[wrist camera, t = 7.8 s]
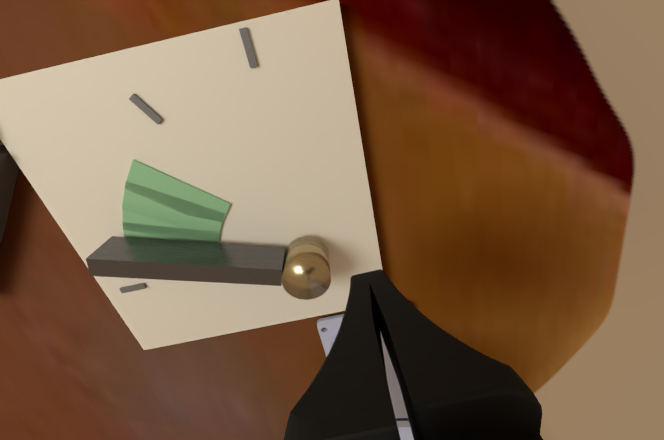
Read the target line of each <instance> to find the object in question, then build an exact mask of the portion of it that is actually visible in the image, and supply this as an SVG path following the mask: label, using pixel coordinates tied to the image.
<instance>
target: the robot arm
mask: <svg viewBox="0 0 664 440" xmlns="http://www.w3.org/2000/svg"><path fill="white" fill-rule="evenodd" d="M317 328H318V331H319V334H320V338H321V341H322V344H323V347H324V350H325V354H326V357H327V358H326V360H325V361H324V363H323V365H322V367H321V369H320V370H319V372H318V373H317V375H316V377H315V378H314V380H313V381H312V383H311V385H310V386H309V388H308V389H307V391H306V392H305V393H304V395H303V396H302V397H301V399H300V400H299V401H298V403H297V404H296V405H295V407H294V408H293V409H292V411H291V412H290V415H289V419H288V423H287V427H286V432H285V437H284V440H543V439H542V437H541V436H540V427H541V418H542V409H541V405H540V403H539V402H538V400H537V398H536V397H535V395H534V394H533V392H532V391H531V390H530V388H529V387H528V386H527V385H526V384H525V382H524V381H523V380H522V379H521V378H520V377H519V376H518V374H517V373H516V372H515V371H514V370H513V369H512V368H511V367H510V366H507V365H505V364H503V363H501V362H499V361H497V360H494V359H492V358H490V357H488V356H486V355H484V354H482V353H480V352H478V351H476V350H474V349H473V348H471V347H469V346H467V345H466V344H464V343H463V342H461V341H459V340H458V339H456V338H454V337H453V336H451V335H450V334H448V333H447V332H445V331H444V330H442V329H441V328H440V327H438V326H437V325H436V324H434V323H433V322H432V321H430V320H429V319H428V318H427V317H425V316H424V315H423V314H422V313H421V312H420V311H419V310H417V309H416V308H415V307H414V306H413V305H412V304H411V303H410V302H409V301H408V300H407V299H406V298H405V297H404V296H403V295H402V294H401V293H400V292H399V291H398V289H397V288H396V287H395V286H394V285H393V283H392V282H391V281H390V280H389V278H388V277H387V275H386V274H385V272H384V271H383V270H381V269H379V270H375V271H370V272H366V273H361V274H357V275H352V277H351V278H350V291H349V296H348V301H347V305H346V309H345V313H344V314H340V315H335V316H330V317H325V318H321V319H319V320H318V321H317ZM323 328H325V329H323Z"/></svg>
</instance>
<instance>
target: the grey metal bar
mask: <svg viewBox="0 0 664 440" xmlns="http://www.w3.org/2000/svg"><path fill="white" fill-rule="evenodd" d="M86 262H87V265H88V269H89V272H90V276H100V277H119V278H139V279H158V280H177V281H196V282H215V283H234V284H253V285H272V286H281V284H282V285H283V288H284V289H285V291H286V292H287V293H288V294H290V295H291V296H293V297H295V298H298V299H303V300H309V299H315V298H317V297H320V296H321V295H323V294H324V293H325V292H326V291H327V290H328V288H329V286H330V283H331V274H330V262H329V252H328V248H327V247H326V245H325V244H324V243H323V242H322V241H321V240H319V239H317V238H315V237H309V236H305V237H300V238H297V239H295V240H293V241H292V242H291V243H290V244H289V245H288V247H287V249H286V252H285V247H274V246H258V245H242V244H227V243H211V242H196V241H180V240H165V239H149V238H133V237H118V236H112V237H110V238H109V239H108V240H107V241H106V242H105V243H103V244H102V245H101V246H100V247H99V248H98V249H96V250H95V251H94V252H93V253H92V254H91V255H89V256H88V257H87V258H86Z"/></svg>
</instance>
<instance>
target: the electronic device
mask: <svg viewBox="0 0 664 440" xmlns="http://www.w3.org/2000/svg"><path fill="white" fill-rule="evenodd" d="M18 171H19V166H18V165H17V163H16V162H15V160H14V159H13V157H12V156H11V154H10V153H9V151H8V150H7V148H6V147H5V145H4V144H3V143H2V141H1V140H0V246H1V242H2V238H3V235H4V231H5V227H6V223H7V219H8V215H9V210H10V206H11V202H12V197H13V193H14V189H15V184H16V180H17V175H18Z"/></svg>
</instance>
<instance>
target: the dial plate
mask: <svg viewBox="0 0 664 440" xmlns="http://www.w3.org/2000/svg"><path fill="white" fill-rule="evenodd" d="M0 140H1V141H2V143H3V144H4V145H5V147H6V148H7V150H8V151H9V153H10V154H11V156H12V157H13V159H14V160H15V162H16V163H17V165H18V166H19V167H20V169H21V170H22V172H23V173H24V175H25V176H26V178H27V179H28V181H29V182H30V184H31V185H32V187H33V188H34V189H35V191H36V192H37V194H38V195H39V197H40V198H41V200H42V201H43V203H44V204H45V206H46V207H47V209H48V210H49V212H50V213H51V214H52V216H53V217H54V219H55V220H56V222H57V223H58V225H59V226H60V228H61V229H62V231H63V232H64V234H65V235H66V236H67V238H68V239H69V241H70V242H71V244H72V245H73V247H74V248H75V250H76V251H77V253H78V254H79V256H80V257H81V258H82V260H83V261H84V263H85V264H86V266H87V267H88V265H87V262H86V258H87V257H88V256H89V255H91V254H92V253H93V252H94V251H95V250H96V249H98V248H99V247H100V246H101V245H102V244H103V243H105V242H106V241H107V240H108V239H109V238H110V237H112V236H118V237H133V238H149V239H165V240H180V241H196V242H211V243H227V244H242V245H258V246H274V247H285V252H286V249H287V247H288V245H289V244H290V243H291V242H292V241H293V240H295V239H297V238H300V237H305V236H309V237H315V238H317V239H319V240H321V241H322V242H323V243H324V244H325V245H326V247H327V248H328V252H329V262H330V274H331V283H330V286H329V288H328V290H327V291H326V292H325V293H324V294H323V295H321V296H320V297H317V298H315V299H309V300H303V299H298V298H295V297H293V296H291V295H290V294H288V293H287V292H286V291H285V289H284V288H283V285H282V284H281V286H272V285H253V284H234V283H215V282H196V281H177V280H158V279H139V278H119V277H100V276H94V278H95V279H96V280H97V282H98V283H99V285H100V286H101V288H102V289H103V291H104V292H105V294H106V295H107V297H108V298H109V300H110V301H111V302H112V304H113V305H114V307H115V308H116V310H117V311H118V313H119V314H120V316H121V317H122V319H123V320H124V322H125V323H126V325H127V326H128V327H129V329H130V330H131V332H132V333H133V335H134V336H135V338H136V339H137V341H138V342H139V344H140V345H141V347H142V348H143V349H144V350H147V349H152V348H157V347H162V346H168V345H173V344H178V343H183V342H188V341H193V340H198V339H203V338H208V337H213V336H218V335H224V334H229V333H234V332H239V331H244V330H249V329H254V328H259V327H264V326H269V325H274V324H280V323H285V322H290V321H295V320H300V319H305V318H310V317H315V316H320V315H325V314H330V313H336V312H341V311H345V309H346V305H347V301H348V296H349V291H350V278H351V277H352V275H357V274H361V273H366V272H370V271H375V270H379V269H381V270H382V264H381V257H380V251H379V245H378V239H377V233H376V226H375V220H374V214H373V208H372V202H371V196H370V189H369V183H368V177H367V171H366V165H365V159H364V152H363V146H362V140H361V134H360V128H359V122H358V115H357V109H356V103H355V97H354V91H353V85H352V78H351V72H350V66H349V60H348V54H347V47H346V41H345V35H344V29H343V23H342V17H341V10H340V4H339V0H330V1H325V2H321V3H317V4H313V5H309V6H305V7H300V8H296V9H292V10H288V11H284V12H280V13H275V14H271V15H267V16H263V17H259V18H254V19H250V20H246V21H242V22H238V23H234V24H229V25H225V26H221V27H217V28H213V29H209V30H204V31H200V32H196V33H192V34H188V35H183V36H179V37H175V38H171V39H167V40H163V41H158V42H154V43H150V44H146V45H142V46H137V47H133V48H129V49H125V50H121V51H117V52H112V53H108V54H104V55H100V56H96V57H92V58H87V59H83V60H79V61H75V62H71V63H66V64H62V65H58V66H54V67H50V68H46V69H41V70H37V71H33V72H29V73H25V74H21V75H16V76H12V77H8V78H4V79H0Z"/></svg>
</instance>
